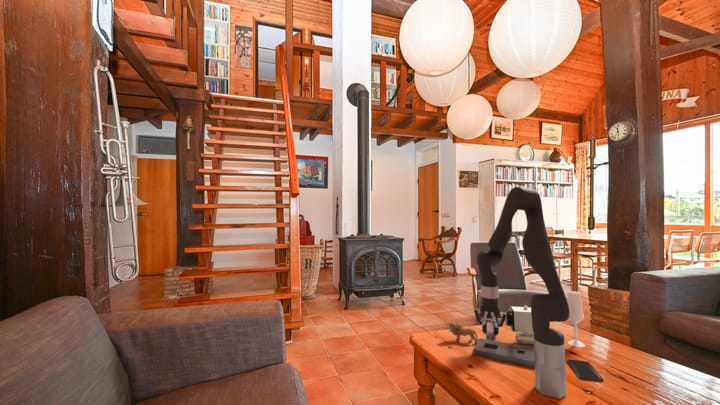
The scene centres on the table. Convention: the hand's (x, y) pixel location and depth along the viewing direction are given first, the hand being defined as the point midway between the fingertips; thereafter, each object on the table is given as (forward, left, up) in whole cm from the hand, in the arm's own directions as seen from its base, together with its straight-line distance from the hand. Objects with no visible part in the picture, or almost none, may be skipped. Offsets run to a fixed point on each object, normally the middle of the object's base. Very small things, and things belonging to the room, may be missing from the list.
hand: (490, 333), depth 142 cm
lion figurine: (+5, +13, -8) cm, 16 cm away
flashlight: (0, 0, -2) cm, 2 cm away
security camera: (+18, -13, -8) cm, 24 cm away
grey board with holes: (0, -6, -8) cm, 10 cm away
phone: (0, -34, -8) cm, 35 cm away
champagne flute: (+28, -33, -8) cm, 44 cm away
